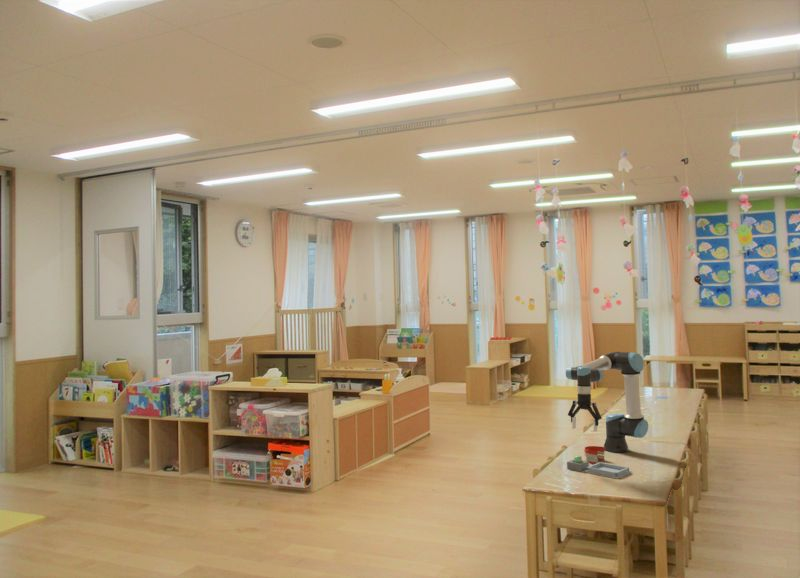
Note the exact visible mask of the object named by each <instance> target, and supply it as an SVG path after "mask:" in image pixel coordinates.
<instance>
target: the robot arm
mask: <svg viewBox="0 0 800 578" xmlns="http://www.w3.org/2000/svg"><path fill="white" fill-rule="evenodd" d="M644 367H645V362H644V359H643V357H642V356H641V354H640V353H638V352H632V351H631V352H629V351H613V352H609V353H606V354H603V355H601V356H599V357H598V358H597V359H594V360H592V361H590V362H587V363H584V364H580V365H578V366H575V367H573V366H569V367H567V368H566V369H565V377H566V378H567V379H568V380H572V381H577V400H575V399H574V400H572V404H571V407H570V409H569V411H568V413H567V416H569V417H570V422H571V425H572V426H571V429H576V428H577V421H576V420H577V419H576V415H577V414H578V412H579V411H581V410H584V411H585V410H587V411H588V412H589V414H590V415H591V416H592V418H593V432H594V433H595V432H598V426H599V420H602V415H601V413H600V411H599V409H598V407H597V402H591V401H592V395H591V393H592V386H591V384H592V383H597V382H598V383H599V382H601V381H602V380H603V379H604V376H605V375H604V372H603V371H609V370H614V371H615V370H617V371H620V374H621V375H622V376H623V382H624V383H623V384H624V385H623V386H624V396H625V410H626V413H625V414H624V413H612V414H607V415H606V416H605V435H606V436H605V437H606V438H605V440H604V441H605V442H604V444H603V447H605V451H606V452H611V453H627V452H628V451H629V445H628V443H627V440H626V436H627V437H632V438H637V439H638V438H639V439H641V438H645V436H646V435H647V433H648V431H649V422H648V420H646V419H645V417H644V415H643V414H642V411H641V410H642V409H641V398H640V385H639V384H640V383H639V376H640V375H641V372H642V371H643V370H644ZM576 406H577V407H576ZM591 406H592V407H591ZM575 408H576V409H575Z"/></svg>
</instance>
